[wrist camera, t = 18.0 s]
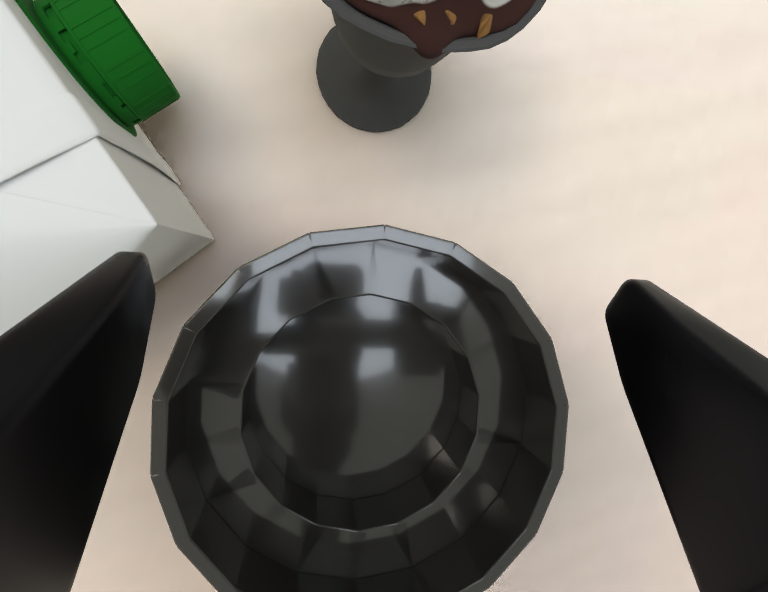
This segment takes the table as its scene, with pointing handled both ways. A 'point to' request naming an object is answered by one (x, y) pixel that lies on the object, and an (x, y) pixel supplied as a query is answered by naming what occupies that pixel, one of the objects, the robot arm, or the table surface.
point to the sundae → (404, 51)
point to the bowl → (359, 420)
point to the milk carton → (81, 152)
